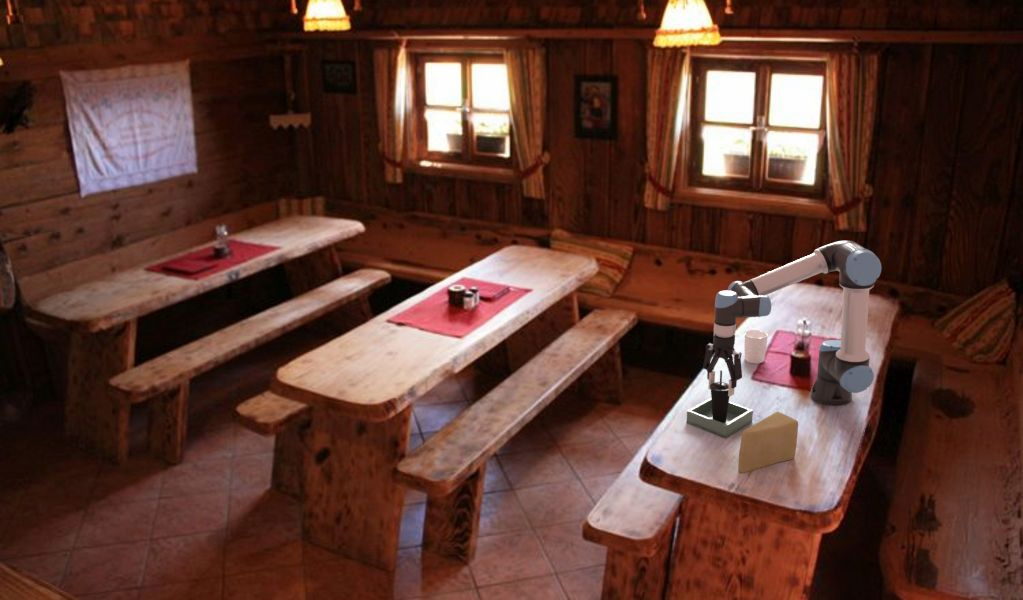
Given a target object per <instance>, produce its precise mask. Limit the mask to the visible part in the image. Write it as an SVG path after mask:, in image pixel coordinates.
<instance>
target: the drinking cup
mask: <svg viewBox="0 0 1023 600" xmlns="http://www.w3.org/2000/svg"><path fill="white" fill-rule="evenodd" d="M728 388H729V383H727V382H724V381H723V369H720V370H719V381H715V383H712V384H711V385H710V389H709V390H710V398H711V401H712V416H713V419H714V420H716V421H719V422H722V423H724V422H726V417H727V410H728V403H729V402H730V397H729V396H728Z"/></svg>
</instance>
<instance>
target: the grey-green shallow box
mask: <svg viewBox="0 0 1023 600" xmlns="http://www.w3.org/2000/svg"><path fill="white" fill-rule="evenodd" d="M753 415H754V410H753V409H750V408H749V407H745V406H743V405H740V404H737V403H735V402H731V401H729V403H728V410H727V417H726V422H724V423H722V422H719V421H716V420H714V419H713V416H712V401H711V397H710V398H709V397H708V399H706V400H704V401H702V402H700V403H698V404H697V405H695V406H693V407H691V408H690V409H687V410H686V423H687V424H689V425H691V426H693V427H696V428H698V429H701V430H703V431H706V432H709V433H710V434H711V433H712V434H714V435H716V436H719V437H721V438H724V439H727V438H729V437H731V436H732V435H734V434H736V433H737V432H738V431H740V430H742V429H744V428H745V427H747V426H749V424H752V423H753Z"/></svg>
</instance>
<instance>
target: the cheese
mask: <svg viewBox="0 0 1023 600" xmlns="http://www.w3.org/2000/svg"><path fill="white" fill-rule="evenodd" d="M798 433H799V421H798V420H797V419H796V418H793V417H791V416H789V415H786V414H784V413H783V412H779V411H775V412H774V413H772V414H771V415H768V416H767V417H765V418H763V419H761V420H759V421H758V422H756V423H754V424H753V425H751V426H749V427H748V428H746V429H744V430H743V431H742V434H741V440H740V446H739V450H738V451H739V453H738V463H737V464H738V468H737V470H738V471H737V472H738V473H740V474H744V473H747V472H750V471H754V470H757V469H761V468H763V467H767V466H771V465H774V464H777V463H782V462H785V461H789V460H793V459H795V458H796V457H795V456H796V452H797V451H796V450H797V449H796V448H797V443H798Z"/></svg>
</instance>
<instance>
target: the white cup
mask: <svg viewBox="0 0 1023 600" xmlns="http://www.w3.org/2000/svg"><path fill="white" fill-rule="evenodd" d="M768 335H769V334H768V333H767V332H766V331H765V330H761V329H759V330H758V329H748V330H747V331H745V332H744V361H746V363H751V364H761V363H764V362H765V358H766V352H767V345H768V337H769V336H768Z"/></svg>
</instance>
